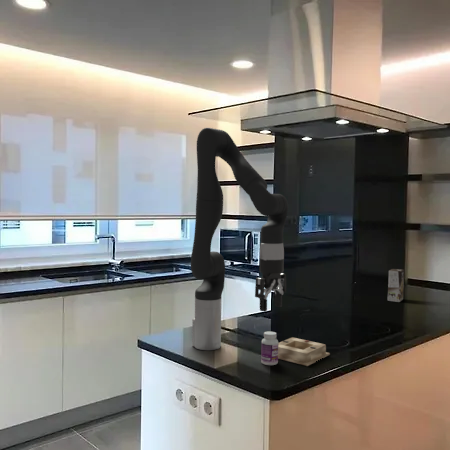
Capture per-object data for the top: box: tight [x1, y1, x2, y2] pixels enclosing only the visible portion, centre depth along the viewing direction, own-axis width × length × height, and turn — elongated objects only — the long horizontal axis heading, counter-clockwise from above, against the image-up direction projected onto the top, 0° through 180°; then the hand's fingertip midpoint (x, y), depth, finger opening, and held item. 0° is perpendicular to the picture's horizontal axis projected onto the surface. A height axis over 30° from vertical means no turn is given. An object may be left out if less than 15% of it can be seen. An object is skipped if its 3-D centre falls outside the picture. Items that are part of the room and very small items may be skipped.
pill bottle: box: [260, 331, 279, 366], centre depth 156 cm, size 5×5×10 cm
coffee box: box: [387, 268, 405, 303], centre depth 260 cm, size 9×6×16 cm
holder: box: [278, 336, 331, 367], centre depth 164 cm, size 15×15×4 cm
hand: (270, 308), depth 155 cm, fingers open, 8 cm apart
